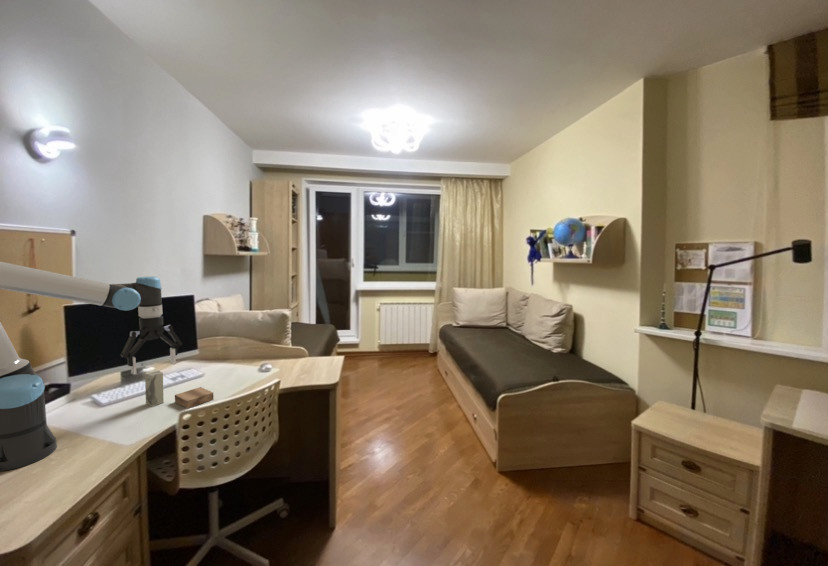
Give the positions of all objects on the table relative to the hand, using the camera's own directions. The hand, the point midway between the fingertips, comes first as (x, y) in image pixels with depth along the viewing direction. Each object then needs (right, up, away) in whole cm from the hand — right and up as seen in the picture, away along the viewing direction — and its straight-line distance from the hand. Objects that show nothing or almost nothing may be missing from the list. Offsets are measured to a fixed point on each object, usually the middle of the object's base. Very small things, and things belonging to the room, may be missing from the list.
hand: (154, 368), depth 139 cm
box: (-1, -15, +1) cm, 15 cm away
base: (+13, -14, +4) cm, 20 cm away
